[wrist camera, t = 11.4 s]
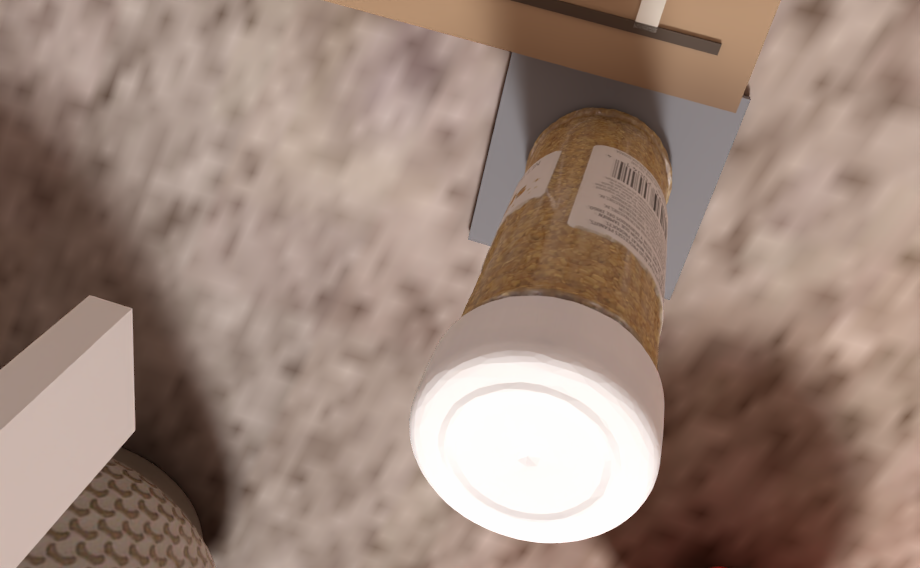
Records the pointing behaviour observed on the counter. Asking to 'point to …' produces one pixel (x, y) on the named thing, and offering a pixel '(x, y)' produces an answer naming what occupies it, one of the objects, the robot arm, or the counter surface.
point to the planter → (125, 523)
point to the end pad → (567, 90)
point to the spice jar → (558, 344)
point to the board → (613, 37)
